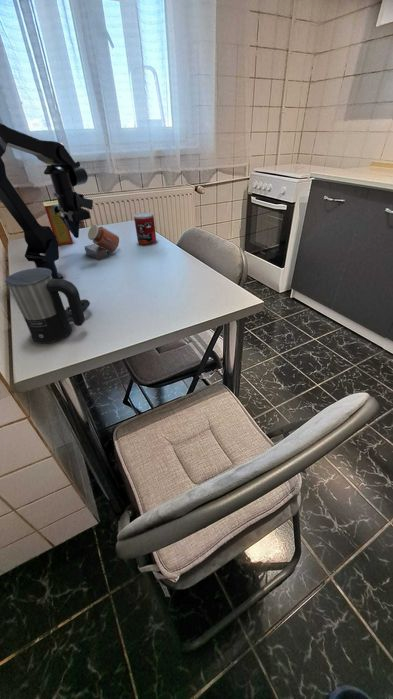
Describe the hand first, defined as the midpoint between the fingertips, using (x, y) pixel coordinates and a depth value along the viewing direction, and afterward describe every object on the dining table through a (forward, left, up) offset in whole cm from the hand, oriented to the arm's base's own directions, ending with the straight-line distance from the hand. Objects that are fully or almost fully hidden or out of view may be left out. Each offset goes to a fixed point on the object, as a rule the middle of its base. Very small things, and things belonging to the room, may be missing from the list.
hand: (76, 237), depth 106 cm
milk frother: (-40, +24, -8) cm, 48 cm away
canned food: (-2, -28, -8) cm, 30 cm away
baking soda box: (+28, -5, -8) cm, 30 cm away
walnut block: (0, -6, -8) cm, 10 cm away
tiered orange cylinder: (-1, -10, -8) cm, 13 cm away
